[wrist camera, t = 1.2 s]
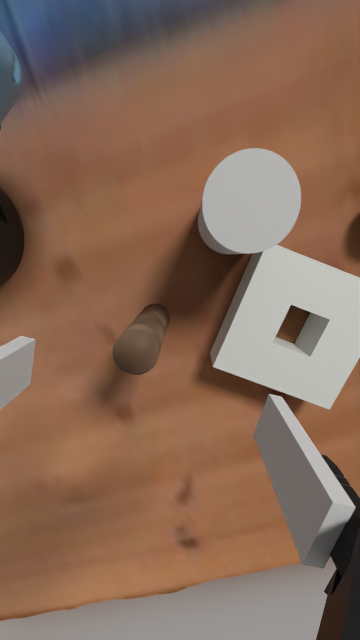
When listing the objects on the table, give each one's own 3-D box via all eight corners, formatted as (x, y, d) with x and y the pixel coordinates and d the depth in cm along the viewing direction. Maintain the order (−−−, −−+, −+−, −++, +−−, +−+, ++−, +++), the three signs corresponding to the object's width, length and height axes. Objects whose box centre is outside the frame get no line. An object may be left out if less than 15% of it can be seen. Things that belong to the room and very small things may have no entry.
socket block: (209, 352, 38) (212, 366, 33) (256, 243, 34) (267, 241, 29) (311, 390, 39) (329, 409, 34) (368, 287, 35) (397, 292, 30)
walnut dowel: (137, 325, 37) (107, 365, 24) (146, 299, 36) (120, 325, 23) (163, 335, 38) (149, 380, 24) (173, 309, 37) (164, 341, 23)
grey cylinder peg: (256, 178, 33) (293, 135, 21) (267, 245, 34) (307, 240, 23) (191, 196, 33) (192, 164, 22) (205, 261, 35) (213, 263, 23)
